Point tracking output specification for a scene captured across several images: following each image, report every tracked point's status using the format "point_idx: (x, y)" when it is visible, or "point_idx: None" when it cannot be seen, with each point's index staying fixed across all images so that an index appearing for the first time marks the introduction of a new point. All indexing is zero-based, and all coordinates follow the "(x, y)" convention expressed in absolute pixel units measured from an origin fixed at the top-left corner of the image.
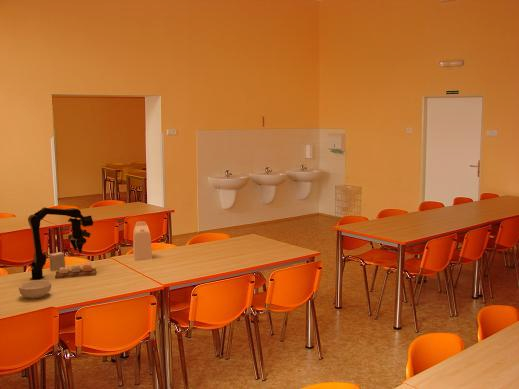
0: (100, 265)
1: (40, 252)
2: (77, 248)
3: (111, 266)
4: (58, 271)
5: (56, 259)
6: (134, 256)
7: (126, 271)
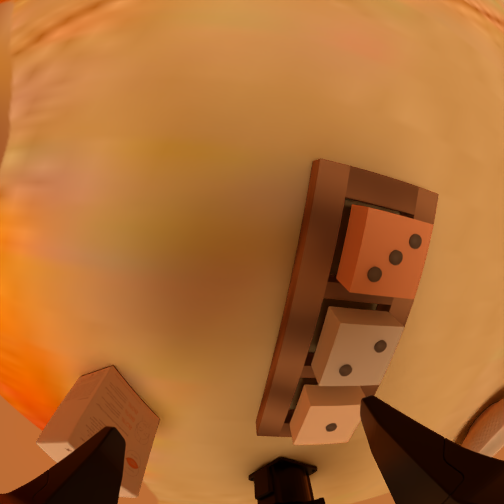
0: (128, 105)
1: None
2: (401, 491)
3: (214, 30)
4: (260, 428)
5: (130, 461)
6: None
7: (404, 9)
